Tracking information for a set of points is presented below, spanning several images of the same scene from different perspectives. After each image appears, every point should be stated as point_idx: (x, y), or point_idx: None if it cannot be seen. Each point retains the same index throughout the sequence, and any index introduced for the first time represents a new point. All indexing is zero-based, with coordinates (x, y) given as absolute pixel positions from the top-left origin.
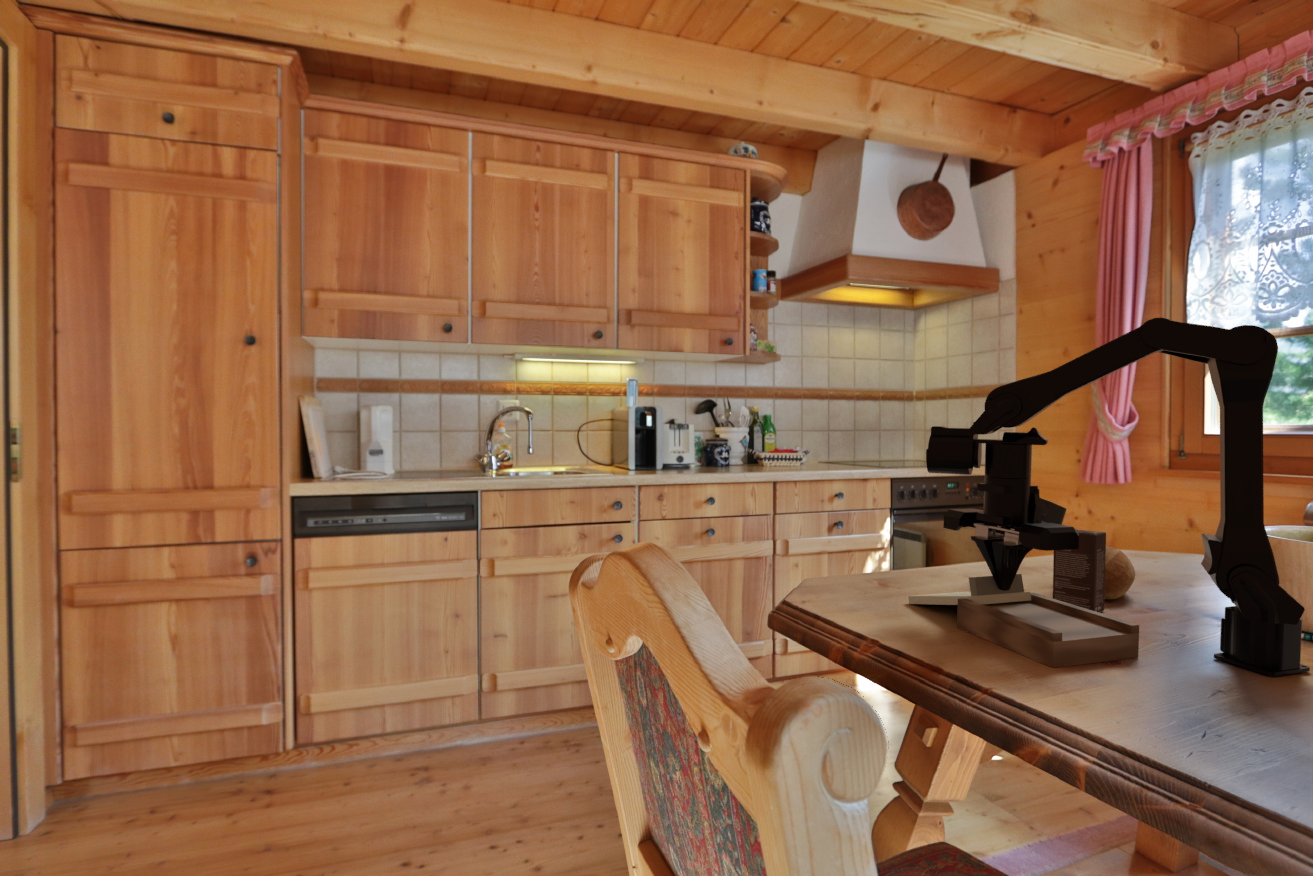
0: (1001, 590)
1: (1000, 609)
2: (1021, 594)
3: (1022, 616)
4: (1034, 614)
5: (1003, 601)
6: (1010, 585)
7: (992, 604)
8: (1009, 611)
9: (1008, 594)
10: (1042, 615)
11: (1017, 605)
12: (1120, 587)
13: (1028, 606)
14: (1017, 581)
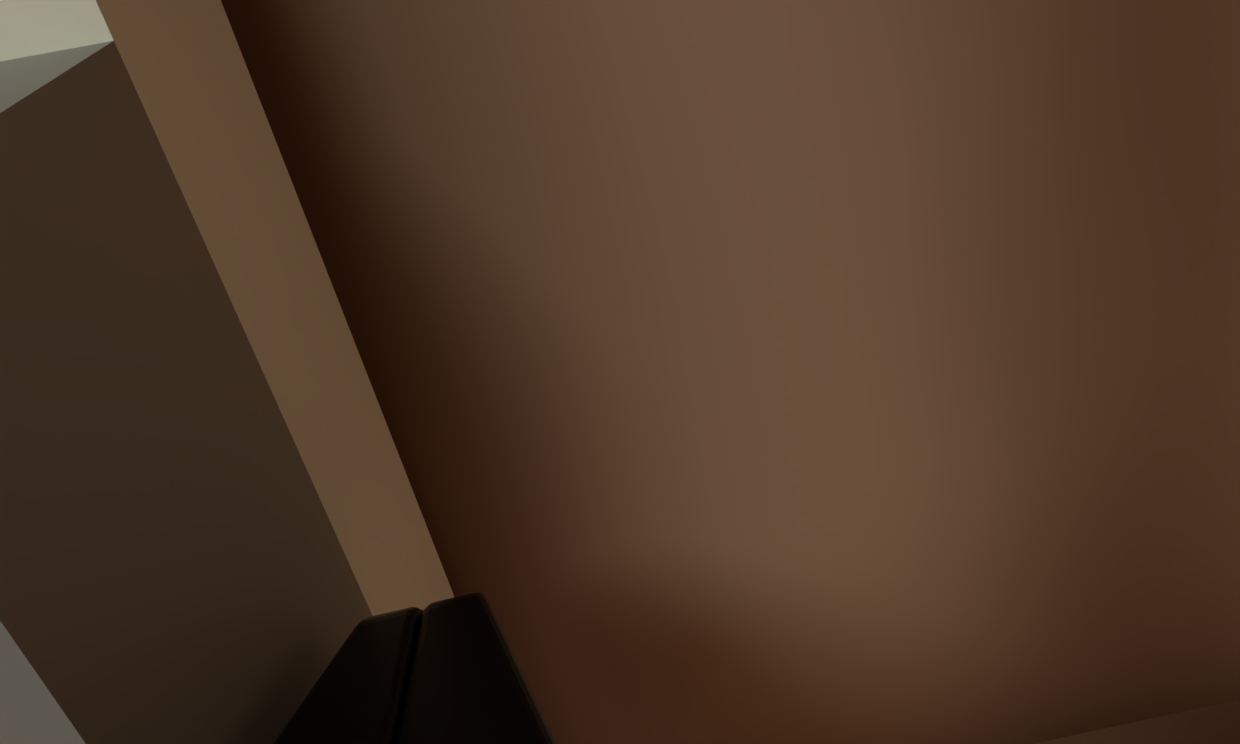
0: (321, 614)
1: (676, 590)
2: (174, 113)
3: (1057, 485)
4: (1013, 269)
5: (390, 470)
6: (515, 660)
7: None
8: (786, 524)
9: (313, 440)
10: (1092, 171)
11: (448, 246)
12: None
13: (509, 74)
14: (36, 335)
